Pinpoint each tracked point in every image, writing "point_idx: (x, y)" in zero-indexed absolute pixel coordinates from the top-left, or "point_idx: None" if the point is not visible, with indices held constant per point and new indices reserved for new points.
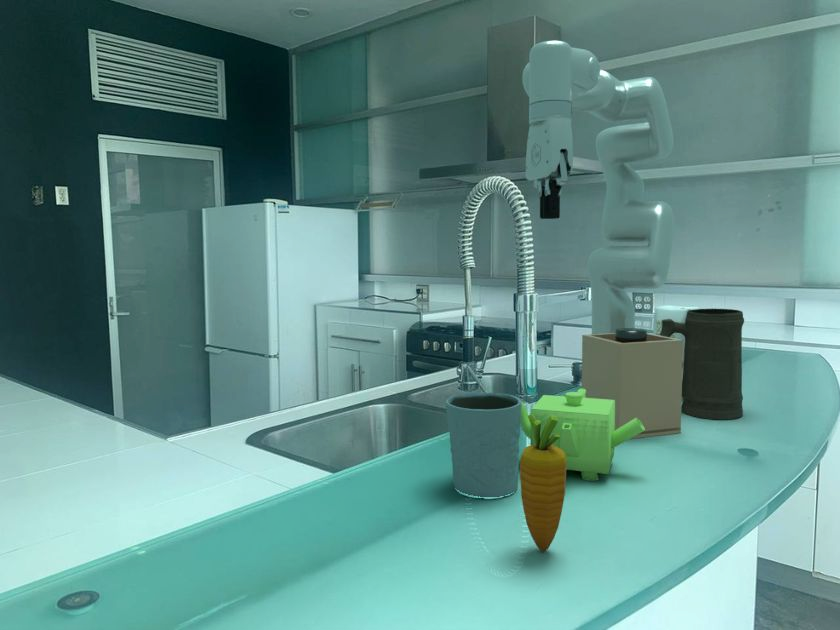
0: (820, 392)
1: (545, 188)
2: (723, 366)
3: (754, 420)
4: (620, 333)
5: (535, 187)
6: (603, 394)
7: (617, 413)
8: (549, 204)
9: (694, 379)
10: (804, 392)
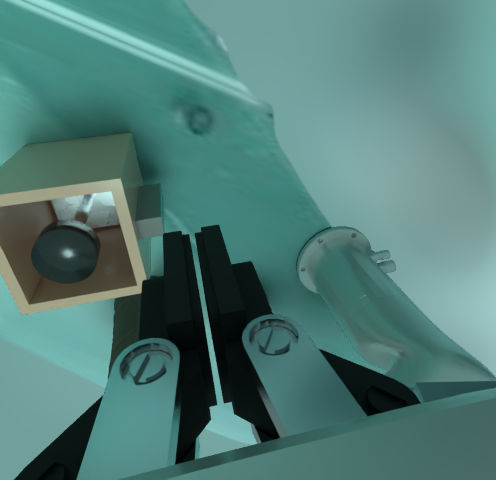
0: (211, 422)
1: (164, 394)
2: (113, 349)
3: (110, 328)
4: (47, 232)
5: (476, 384)
6: (56, 156)
7: (19, 154)
8: (146, 310)
9: (136, 310)
10: (215, 412)
